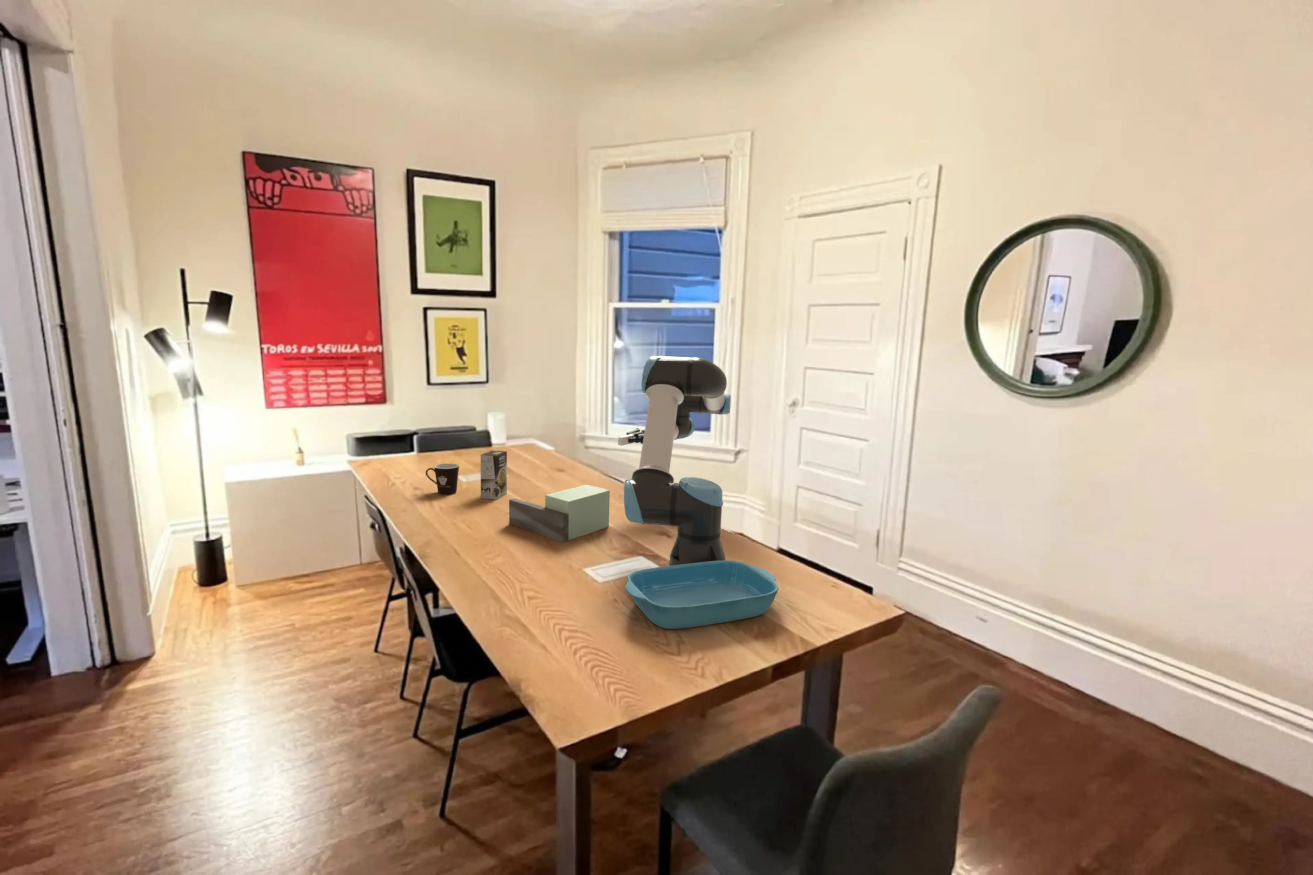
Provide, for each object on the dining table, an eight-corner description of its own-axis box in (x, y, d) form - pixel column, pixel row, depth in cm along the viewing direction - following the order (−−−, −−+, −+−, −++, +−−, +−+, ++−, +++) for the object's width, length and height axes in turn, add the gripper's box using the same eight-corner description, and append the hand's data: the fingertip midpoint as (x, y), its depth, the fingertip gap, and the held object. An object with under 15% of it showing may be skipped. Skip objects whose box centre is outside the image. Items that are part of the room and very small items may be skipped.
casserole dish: (744, 580, 164) (746, 553, 163) (795, 617, 144) (798, 587, 143) (610, 599, 150) (610, 571, 148) (646, 644, 130) (647, 612, 128)
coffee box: (496, 500, 226) (496, 455, 223) (480, 498, 227) (479, 454, 224) (507, 493, 235) (507, 450, 232) (491, 492, 236) (491, 449, 233)
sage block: (586, 519, 208) (586, 484, 206) (608, 526, 202) (609, 490, 200) (545, 532, 194) (545, 495, 192) (568, 540, 188) (568, 501, 186)
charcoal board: (515, 522, 202) (515, 498, 201) (568, 540, 188) (568, 514, 186) (509, 524, 200) (509, 499, 199) (562, 542, 186) (562, 516, 184)
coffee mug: (464, 492, 234) (464, 465, 232) (445, 497, 227) (445, 469, 225) (443, 486, 240) (442, 461, 238) (424, 491, 233) (423, 464, 231)
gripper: (677, 445, 223) (634, 456, 204) (648, 439, 231) (604, 448, 212) (678, 424, 221) (635, 433, 203) (649, 418, 229) (605, 426, 210)
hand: (619, 441), depth 207 cm, fingers closed
